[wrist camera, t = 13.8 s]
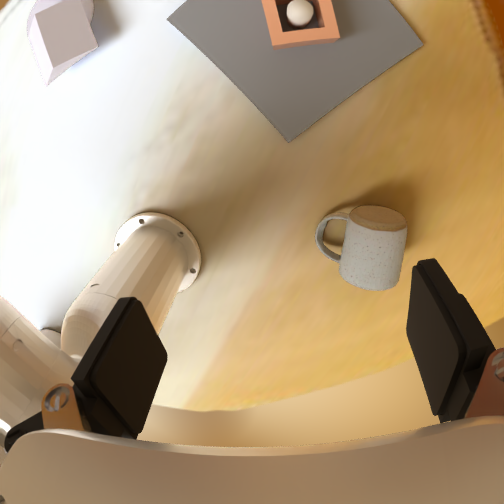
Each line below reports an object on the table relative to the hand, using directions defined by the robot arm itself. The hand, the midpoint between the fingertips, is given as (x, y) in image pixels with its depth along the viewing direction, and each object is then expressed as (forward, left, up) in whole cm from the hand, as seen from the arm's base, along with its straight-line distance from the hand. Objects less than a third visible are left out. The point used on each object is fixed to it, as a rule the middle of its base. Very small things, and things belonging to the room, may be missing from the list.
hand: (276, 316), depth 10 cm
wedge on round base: (-8, +31, -29) cm, 43 cm away
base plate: (+11, +10, -28) cm, 32 cm away
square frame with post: (+12, +12, -27) cm, 32 cm away
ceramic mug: (0, -14, -29) cm, 32 cm away
